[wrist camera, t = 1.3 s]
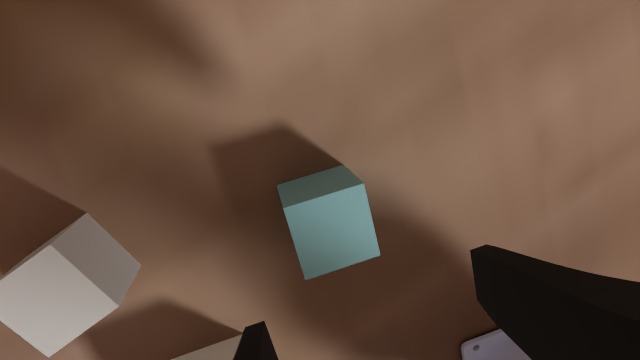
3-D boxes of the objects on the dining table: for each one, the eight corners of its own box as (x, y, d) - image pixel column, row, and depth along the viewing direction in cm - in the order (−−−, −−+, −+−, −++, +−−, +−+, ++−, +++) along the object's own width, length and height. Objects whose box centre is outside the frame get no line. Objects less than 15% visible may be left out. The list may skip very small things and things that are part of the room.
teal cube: (343, 164, 22) (363, 183, 18) (358, 225, 23) (380, 255, 19) (276, 184, 21) (283, 208, 17) (295, 245, 22) (305, 280, 19)
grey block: (87, 211, 20) (50, 244, 16) (141, 264, 21) (118, 306, 17) (26, 256, 20) (-27, 299, 16) (83, 306, 21) (48, 357, 17)
